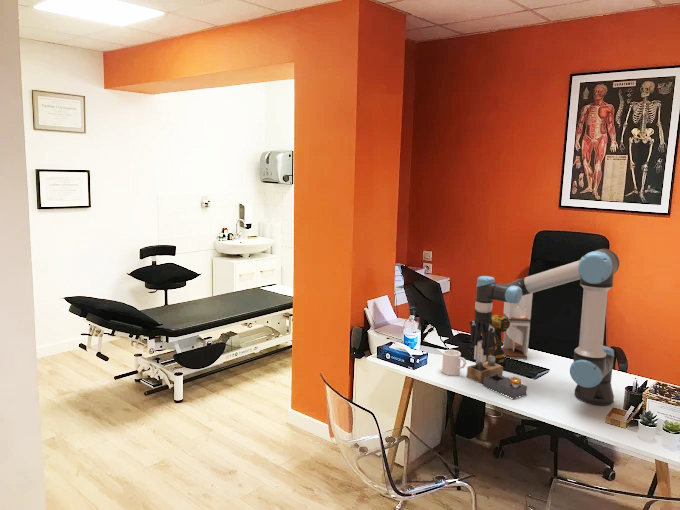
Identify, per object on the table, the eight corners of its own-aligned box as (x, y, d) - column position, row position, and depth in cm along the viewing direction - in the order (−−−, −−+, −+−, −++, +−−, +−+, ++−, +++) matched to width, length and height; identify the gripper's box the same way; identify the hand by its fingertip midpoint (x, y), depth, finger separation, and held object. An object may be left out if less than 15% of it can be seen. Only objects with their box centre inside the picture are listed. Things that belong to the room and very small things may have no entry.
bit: (479, 374, 244) (481, 343, 241) (473, 372, 246) (476, 340, 244) (484, 373, 246) (486, 341, 243) (478, 370, 248) (480, 339, 246)
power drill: (480, 354, 277) (483, 308, 273) (508, 367, 261) (512, 317, 257) (469, 357, 273) (472, 309, 269) (497, 369, 257) (501, 319, 253)
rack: (502, 376, 249) (503, 358, 248) (480, 383, 241) (481, 363, 240) (488, 370, 256) (490, 352, 254) (466, 377, 248) (468, 358, 246)
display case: (500, 351, 284) (505, 286, 278) (520, 352, 283) (526, 287, 277) (505, 358, 273) (511, 291, 267) (527, 359, 272) (532, 292, 266)
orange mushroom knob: (522, 393, 229) (523, 380, 228) (515, 395, 226) (516, 382, 225) (513, 389, 232) (515, 376, 231) (507, 392, 230) (508, 378, 229)
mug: (460, 379, 245) (461, 359, 243) (438, 372, 253) (439, 352, 251) (470, 375, 250) (471, 355, 248) (448, 367, 259) (449, 348, 257)
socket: (526, 394, 230) (527, 386, 229) (512, 399, 225) (513, 390, 224) (496, 381, 243) (497, 373, 242) (483, 386, 238) (483, 377, 237)
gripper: (503, 313, 236) (499, 364, 240) (475, 305, 250) (472, 353, 254) (492, 316, 232) (488, 367, 236) (464, 307, 246) (460, 356, 250)
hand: (479, 360), depth 245 cm, fingers closed on bit, 3 cm apart
